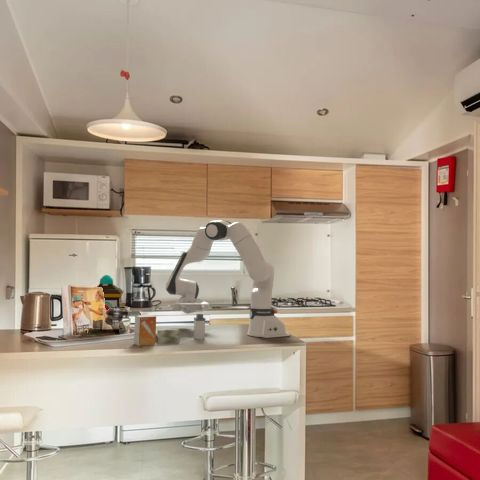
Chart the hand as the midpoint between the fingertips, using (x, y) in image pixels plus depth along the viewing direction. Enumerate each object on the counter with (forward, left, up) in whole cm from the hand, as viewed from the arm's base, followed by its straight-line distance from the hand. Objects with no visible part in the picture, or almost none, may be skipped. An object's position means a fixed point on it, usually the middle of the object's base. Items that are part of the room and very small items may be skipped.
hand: (193, 308), depth 235 cm
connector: (0, +12, -14) cm, 18 cm away
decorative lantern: (+44, -19, -14) cm, 49 cm away
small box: (+28, +22, -14) cm, 38 cm away
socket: (+17, +16, -13) cm, 27 cm away
